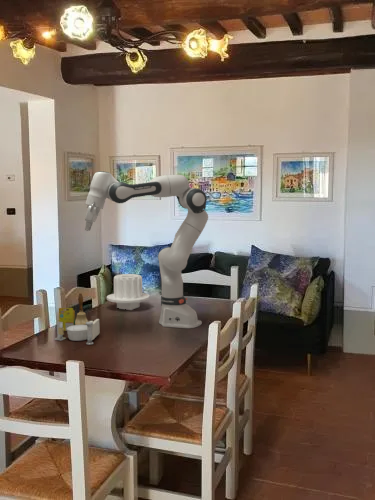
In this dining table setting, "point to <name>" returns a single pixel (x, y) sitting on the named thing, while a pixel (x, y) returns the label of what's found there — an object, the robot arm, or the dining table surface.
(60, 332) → the post
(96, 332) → the gate
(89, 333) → the gate post
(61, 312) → the crayon box
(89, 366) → the dining table surface
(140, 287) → the ribbed cylinder on disc
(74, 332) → the ramekin
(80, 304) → the hand bell
